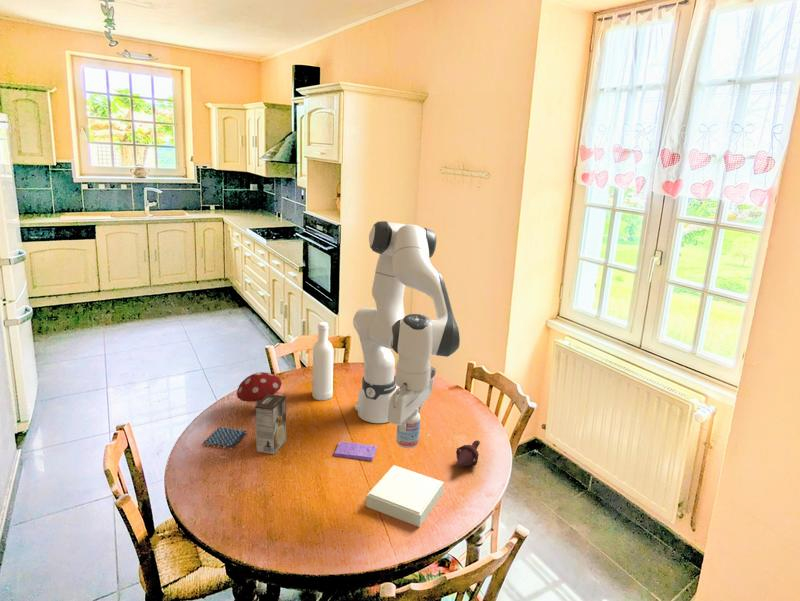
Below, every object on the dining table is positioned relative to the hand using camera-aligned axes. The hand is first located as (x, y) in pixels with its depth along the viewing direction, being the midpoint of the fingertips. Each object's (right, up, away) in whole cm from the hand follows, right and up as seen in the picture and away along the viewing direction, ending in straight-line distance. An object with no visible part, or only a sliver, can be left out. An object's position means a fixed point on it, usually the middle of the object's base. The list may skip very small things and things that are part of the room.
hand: (409, 424), depth 136 cm
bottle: (-33, -4, +63) cm, 71 cm away
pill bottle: (0, -6, +2) cm, 6 cm away
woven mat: (-60, -13, +31) cm, 68 cm away
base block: (-1, -22, +6) cm, 23 cm away
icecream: (+18, -19, +24) cm, 35 cm away
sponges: (-17, -16, +27) cm, 36 cm away
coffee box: (-44, -14, +28) cm, 54 cm away
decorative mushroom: (-53, -7, +49) cm, 73 cm away
